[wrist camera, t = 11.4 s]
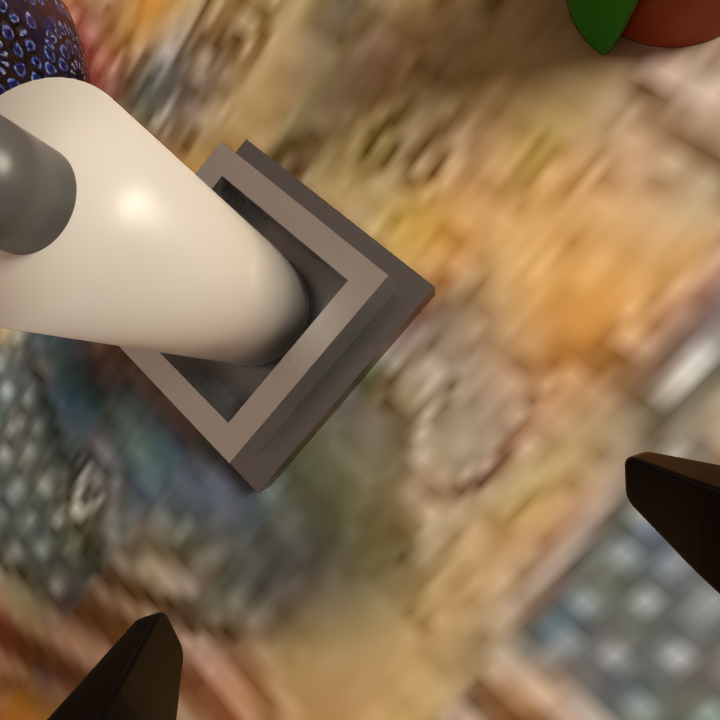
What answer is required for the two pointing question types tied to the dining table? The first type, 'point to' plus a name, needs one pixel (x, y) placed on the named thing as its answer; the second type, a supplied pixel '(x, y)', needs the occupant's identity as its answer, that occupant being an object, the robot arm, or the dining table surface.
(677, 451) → the dining table surface
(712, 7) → the motor
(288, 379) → the grey square tray
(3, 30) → the planter
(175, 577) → the dining table surface
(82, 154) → the white bottle
